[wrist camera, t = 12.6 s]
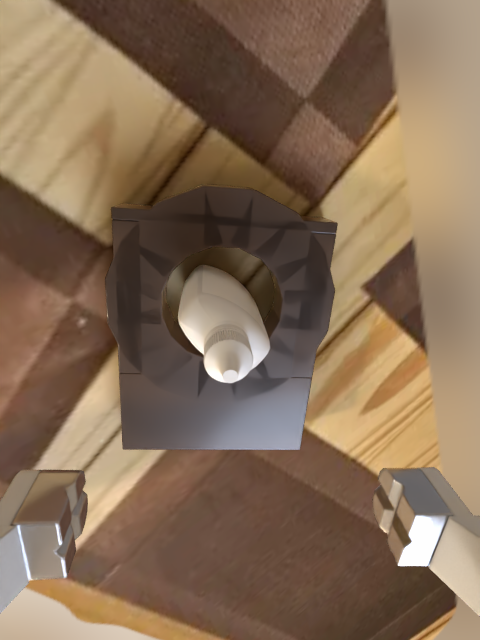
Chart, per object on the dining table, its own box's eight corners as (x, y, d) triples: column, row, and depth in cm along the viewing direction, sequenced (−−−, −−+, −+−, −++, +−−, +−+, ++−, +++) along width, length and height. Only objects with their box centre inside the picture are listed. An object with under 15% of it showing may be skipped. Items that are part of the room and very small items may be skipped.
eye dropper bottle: (233, 249, 27) (252, 304, 16) (261, 316, 29) (295, 406, 18) (177, 272, 27) (157, 343, 16) (209, 337, 29) (210, 439, 18)
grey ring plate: (110, 176, 24) (98, 177, 22) (336, 194, 26) (352, 197, 23) (122, 425, 31) (114, 449, 29) (298, 426, 33) (307, 450, 30)
